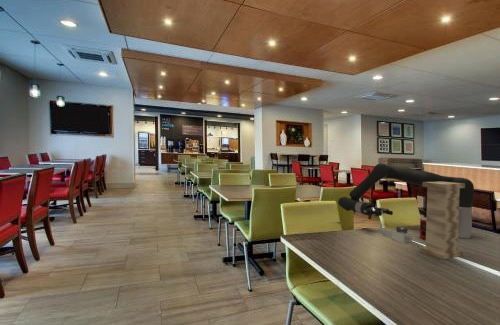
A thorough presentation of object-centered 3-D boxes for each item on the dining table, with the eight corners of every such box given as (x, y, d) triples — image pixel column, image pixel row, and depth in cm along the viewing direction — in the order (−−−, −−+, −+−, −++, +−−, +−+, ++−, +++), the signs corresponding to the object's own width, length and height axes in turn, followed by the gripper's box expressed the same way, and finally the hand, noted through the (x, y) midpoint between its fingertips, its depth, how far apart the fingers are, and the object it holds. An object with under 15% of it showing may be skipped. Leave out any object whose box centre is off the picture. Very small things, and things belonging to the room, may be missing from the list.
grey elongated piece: (383, 233, 159) (383, 221, 159) (411, 242, 142) (412, 229, 142) (375, 234, 157) (375, 222, 156) (403, 243, 140) (403, 230, 140)
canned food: (431, 237, 152) (431, 217, 152) (439, 241, 144) (440, 220, 144) (416, 236, 153) (417, 217, 152) (424, 240, 145) (425, 220, 145)
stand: (440, 248, 133) (442, 181, 132) (462, 255, 123) (465, 183, 122) (420, 252, 127) (422, 182, 126) (442, 259, 118) (444, 184, 117)
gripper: (355, 202, 165) (377, 207, 150) (373, 201, 170) (396, 206, 155) (355, 215, 165) (377, 221, 150) (373, 213, 171) (395, 219, 156)
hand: (386, 213), depth 153 cm, fingers open, 8 cm apart
